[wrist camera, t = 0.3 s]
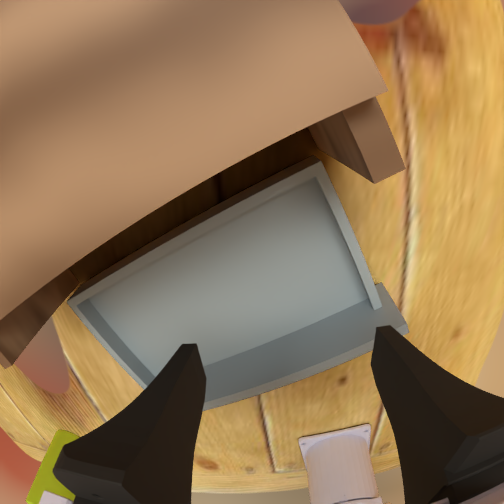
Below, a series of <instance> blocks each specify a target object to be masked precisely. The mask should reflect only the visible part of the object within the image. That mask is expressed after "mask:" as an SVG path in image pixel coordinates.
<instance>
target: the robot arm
mask: <svg viewBox="0 0 504 504" xmlns="http://www.w3.org/2000/svg"><path fill="white" fill-rule="evenodd" d="M371 367H372V371H373V375H374V379H375V383H376V386H377V389H378V391H379V394H380V397H381V399H382V402H383V404H384V407H385V410H386V412H387V415H388V418H389V420H390V423H391V426H392V429H393V432H394V436H395V440H396V445H397V449H398V454H399V459H400V465H401V471H402V478H403V485H404V495H405V504H504V398H502V397H499V396H496V395H493V394H490V393H488V392H485V391H483V390H481V389H478V388H476V387H474V386H472V385H470V384H468V383H466V382H464V381H462V380H461V379H459V378H457V377H456V376H454V375H452V374H451V373H449V372H447V371H446V370H444V369H443V368H441V367H440V366H439V365H437V364H436V363H435V362H433V361H432V360H431V359H429V358H428V357H427V356H425V355H424V354H423V353H422V352H421V351H419V350H418V349H417V348H416V347H415V346H413V345H412V344H411V343H410V342H409V341H408V340H407V339H405V338H404V337H403V336H402V335H401V334H400V333H399V332H398V331H397V330H395V329H394V328H393V327H392V326H391V325H387V326H380V327H376V333H375V340H374V346H373V353H372V359H371ZM206 380H207V378H206V375H205V371H204V368H203V364H202V361H201V357H200V354H199V350H198V346H197V343H192V344H182V345H181V346H180V347H179V348H178V350H177V351H176V352H175V353H174V355H173V356H172V357H171V359H170V360H169V361H168V363H167V364H166V365H165V366H164V368H163V369H162V370H161V371H160V372H159V374H158V375H157V376H156V377H155V379H154V380H153V381H152V382H151V383H150V384H149V385H148V386H147V387H146V388H145V390H144V391H143V392H142V393H141V394H140V395H139V396H138V397H137V398H136V399H135V400H134V401H133V402H132V403H130V404H129V405H128V406H127V407H126V408H125V409H123V410H122V411H121V412H120V413H118V414H117V415H116V416H114V417H113V418H111V419H110V420H109V421H107V422H106V423H104V424H103V425H101V426H100V427H98V428H97V429H95V430H93V431H91V432H90V433H88V434H86V435H84V436H82V437H80V438H78V439H76V440H74V441H72V442H70V443H67V444H65V445H64V446H63V447H62V450H61V452H60V454H59V456H58V458H57V461H56V463H55V465H54V468H53V471H52V472H53V474H54V476H55V478H56V479H57V480H58V481H59V482H60V483H61V484H62V485H64V486H65V487H66V488H67V489H68V490H69V491H71V492H72V493H73V494H74V495H75V499H74V502H73V501H72V500H70V499H68V498H66V497H63V496H60V495H57V494H55V493H52V492H49V491H47V490H45V491H44V492H43V494H42V497H41V499H40V502H39V504H191V486H192V470H193V458H194V449H195V443H196V439H197V434H198V429H199V425H200V420H201V416H202V411H203V406H204V402H205V393H206ZM370 432H371V426H370V424H364V425H360V426H356V427H352V428H347V429H343V430H338V431H334V432H329V433H324V434H318V435H313V436H307V437H302V438H299V439H298V442H299V446H300V449H301V453H302V456H303V460H304V463H305V467H306V470H307V473H308V484H309V495H310V504H383V502H382V498H381V497H379V494H378V489H377V485H376V480H375V476H374V471H373V467H372V463H371V459H370V455H369V446H370ZM384 504H390V502H386V503H384Z"/></svg>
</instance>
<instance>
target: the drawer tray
mask: <svg viewBox="0 0 504 504" xmlns="http://www.w3.org/2000/svg"><path fill="white" fill-rule="evenodd" d="M67 303H68V305H69V306H70V307H71V308H72V310H73V311H74V312H75V314H76V315H77V316H78V317H79V319H80V320H81V321H82V322H83V323H84V325H85V326H86V327H87V328H88V329H89V331H90V332H91V333H92V334H93V335H94V337H95V338H96V339H97V340H98V341H99V342H100V343H101V345H102V346H103V347H104V348H105V349H106V350H107V351H108V352H109V354H110V355H111V356H112V357H113V358H114V359H115V360H116V361H117V362H118V363H119V364H120V366H121V367H122V368H123V369H124V370H125V371H126V372H127V373H128V374H129V375H130V376H131V377H132V378H133V379H134V380H135V381H136V382H137V383H138V384H139V385H140V386H141V387H142V388H143V389H144V390H145V388H146V387H147V386H148V385H149V384H150V383H151V382H152V381H153V380H154V379H155V377H156V376H157V375H158V374H159V372H160V371H161V370H162V369H163V368H164V366H165V365H166V364H167V363H168V361H169V360H170V359H171V357H172V356H173V355H174V353H175V352H176V351H177V350H178V348H179V347H180V346H181V345H182V344H192V343H197V346H198V350H199V354H200V357H201V361H202V364H203V368H204V371H205V375H206V378H207V380H206V393H205V402H204V406H203V411H205V410H209V409H213V408H216V407H220V406H223V405H227V404H230V403H234V402H237V401H240V400H244V399H247V398H250V397H253V396H256V395H259V394H262V393H265V392H268V391H271V390H274V389H277V388H280V387H283V386H286V385H288V384H291V383H294V382H297V381H299V380H302V379H305V378H307V377H310V376H313V375H315V374H318V373H320V372H323V371H325V370H328V369H330V368H333V367H335V366H337V365H340V364H342V363H345V362H347V361H349V360H352V359H354V358H356V357H358V356H361V355H363V354H365V353H367V352H370V351H372V350H373V346H374V340H375V333H376V327H380V326H387V325H391V326H392V327H393V328H394V329H395V330H397V331H398V332H399V333H400V334H401V335H402V336H403V335H405V334H407V333H409V330H408V326H407V323H406V321H405V320H404V318H403V316H402V315H401V313H400V311H399V310H398V308H397V306H396V305H395V303H394V302H393V300H392V298H391V297H390V295H389V294H388V292H387V290H386V289H385V287H384V286H383V284H382V282H381V283H379V284H377V285H374V282H373V279H372V277H371V274H370V271H369V269H368V266H367V264H366V261H365V259H364V256H363V254H362V251H361V249H360V246H359V244H358V241H357V239H356V237H355V234H354V232H353V230H352V227H351V225H350V222H349V220H348V218H347V216H346V213H345V211H344V209H343V207H342V204H341V202H340V200H339V198H338V195H337V193H336V191H335V189H334V187H333V185H332V182H331V180H330V178H329V176H328V174H327V172H326V170H325V168H324V166H323V164H322V162H321V160H319V159H318V158H317V157H315V156H314V155H312V156H310V157H308V158H306V159H304V160H302V161H300V162H298V163H296V164H294V165H292V166H290V167H288V168H286V169H284V170H282V171H280V172H278V173H276V174H274V175H272V176H270V177H269V178H267V179H265V180H263V181H261V182H259V183H257V184H255V185H253V186H251V187H249V188H247V189H245V190H244V191H242V192H240V193H238V194H236V195H234V196H232V197H230V198H229V199H227V200H225V201H223V202H221V203H219V204H217V205H216V206H214V207H212V208H210V209H208V210H207V211H205V212H203V213H201V214H199V215H198V216H196V217H194V218H192V219H190V220H189V221H187V222H185V223H183V224H182V225H180V226H178V227H176V228H174V229H173V230H171V231H169V232H168V233H166V234H164V235H162V236H161V237H159V238H157V239H155V240H154V241H152V242H150V243H149V244H147V245H145V246H144V247H142V248H140V249H139V250H137V251H135V252H134V253H132V254H130V255H129V256H127V257H125V258H124V259H122V260H120V261H119V262H117V263H115V264H114V265H112V266H110V267H109V268H107V269H106V270H104V271H102V272H101V273H99V274H98V275H96V276H94V277H93V278H91V279H90V280H88V281H86V282H85V283H83V284H82V285H81V286H80V287H79V288H78V289H77V290H76V291H75V292H74V294H73V295H72V296H71V297H70V298H69V299H68V301H67Z"/></svg>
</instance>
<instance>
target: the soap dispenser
mask: <svg viewBox="0 0 504 504" xmlns="http://www.w3.org/2000/svg"><path fill="white" fill-rule="evenodd" d="M78 438H80V437H78V436H77V435H75V434H73V433H71V432H68V431H65V430H58V431H56V433H55V436H54V438H53V440H52V442H51V444H50V446H49V448H48V450H47V452H46V455H45V457H44V459H43V461H42V463H41V466H40V468H39V470H38V473H37V475H36V477H35V479H34V482H33V484H32V486H31V489H30V491H29V494H28V496H27V499H26V502H27V503H28V504H39V502H40V499H41V497H42V494H43V492H44V491H45V490H47V491H49V492H52V493H55V494H57V495H60V496H63V497H66V498H68V499H70V500H72V501H73V502H74V499H75V495H74V494H73V493H72V492H71V491H69V490H68V489H67V488H66V487H65V486H64V485H62V484H61V483H60V482H59V481H58V480H57V479H56V478H55V476H54V474H53V472H52V471H53V468H54V465H55V463H56V461H57V458H58V456H59V454H60V452H61V450H62V447H63V446H64V445H65V444H67V443H70V442H72V441H74V440H76V439H78Z"/></svg>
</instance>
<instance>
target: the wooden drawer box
mask: <svg viewBox="0 0 504 504" xmlns="http://www.w3.org/2000/svg"><path fill="white" fill-rule="evenodd" d="M387 91H388V88H387V86H386V84H385V82H384V80H383V78H382V76H381V74H380V72H379V70H378V68H377V66H376V64H375V62H374V60H373V58H372V57H371V55H370V53H369V51H368V49H367V47H366V46H365V44H364V42H363V40H362V38H361V37H360V35H359V33H358V32H357V30H356V28H355V26H354V25H353V23H352V21H351V20H350V18H349V17H348V15H347V13H346V12H345V10H344V9H343V7H342V6H341V4H340V3H339V1H338V0H0V364H1V365H2V366H3V367H4V368H5V369H6V368H8V367H10V366H12V365H13V363H14V362H15V360H16V359H17V358H18V357H19V355H20V354H21V353H22V351H23V350H24V349H25V348H26V346H27V345H28V344H29V342H30V341H31V340H32V339H33V337H34V336H35V335H36V334H37V332H38V331H39V330H40V329H41V327H42V326H43V325H44V324H45V323H46V321H47V320H48V319H49V318H50V317H51V315H52V314H53V313H54V312H55V311H56V309H57V308H58V307H59V306H60V305H61V304H62V302H63V301H64V300H65V299H66V298H67V297H68V296H69V294H70V293H71V292H72V291H73V290H74V289H75V288H76V286H77V285H78V284H79V282H78V280H77V279H76V278H75V276H74V275H73V274H72V272H71V271H70V269H69V267H70V266H72V265H73V264H74V263H76V262H77V261H79V260H80V259H82V258H83V257H84V256H86V255H87V254H89V253H90V252H92V251H93V250H95V249H96V248H97V247H99V246H100V245H102V244H103V243H105V242H106V241H108V240H109V239H111V238H112V237H114V236H115V235H117V234H118V233H120V232H121V231H123V230H125V229H126V228H128V227H129V226H131V225H132V224H134V223H135V222H137V221H139V220H140V219H142V218H143V217H145V216H146V215H148V214H150V213H151V212H153V211H154V210H156V209H158V208H159V207H161V206H163V205H164V204H166V203H167V202H169V201H171V200H172V199H174V198H176V197H177V196H179V195H181V194H183V193H184V192H186V191H188V190H189V189H191V188H193V187H194V186H196V185H198V184H200V183H201V182H203V181H205V180H207V179H208V178H210V177H212V176H214V175H215V174H217V173H219V172H221V171H223V170H224V169H226V168H228V167H230V166H232V165H234V164H235V163H237V162H239V161H241V160H243V159H245V158H247V157H248V156H250V155H252V154H254V153H256V152H258V151H260V150H262V149H264V148H266V147H268V146H270V145H271V144H273V143H275V142H277V141H279V140H281V139H283V138H285V137H287V136H289V135H291V134H293V133H295V132H298V131H300V130H302V129H304V128H306V127H308V129H309V131H310V133H311V135H312V137H313V139H314V141H315V143H316V145H317V147H318V149H319V150H321V151H323V152H324V153H326V154H328V155H329V156H331V157H333V158H334V159H336V160H338V161H339V162H341V163H343V164H344V165H346V166H347V167H349V168H351V169H352V170H354V171H355V172H357V173H358V174H360V175H362V176H363V177H365V178H366V179H368V180H369V181H371V182H372V183H374V184H375V183H377V182H379V181H381V180H384V179H386V178H388V177H390V176H392V175H394V174H396V173H398V172H400V171H402V170H404V169H406V168H405V166H404V163H403V160H402V158H401V155H400V153H399V150H398V147H397V145H396V142H395V140H394V137H393V135H392V133H391V130H390V128H389V126H388V123H387V121H386V119H385V116H384V114H383V112H382V110H381V108H380V105H379V103H378V101H377V99H376V97H375V96H377V95H379V94H382V93H384V92H387Z"/></svg>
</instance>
